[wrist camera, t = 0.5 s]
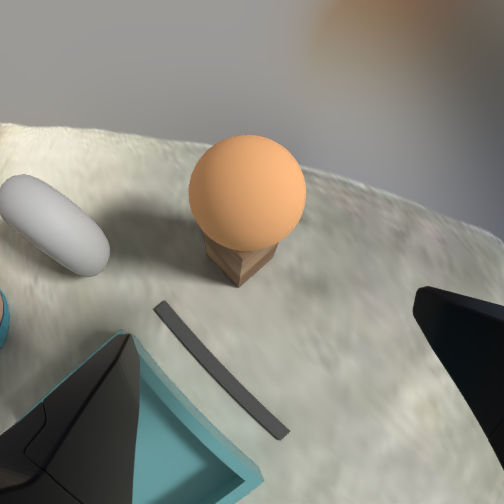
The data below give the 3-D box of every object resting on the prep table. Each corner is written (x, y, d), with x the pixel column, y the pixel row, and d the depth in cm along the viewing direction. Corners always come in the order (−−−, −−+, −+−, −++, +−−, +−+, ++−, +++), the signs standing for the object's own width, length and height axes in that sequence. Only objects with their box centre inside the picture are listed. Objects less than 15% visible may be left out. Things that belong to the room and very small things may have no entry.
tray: (258, 466, 17) (264, 480, 14) (146, 542, 13) (136, 560, 10) (134, 336, 20) (120, 329, 17) (36, 420, 16) (14, 423, 13)
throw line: (289, 430, 18) (290, 431, 18) (279, 440, 18) (280, 440, 18) (165, 301, 21) (165, 300, 21) (155, 309, 21) (154, 309, 21)
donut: (34, 249, 22) (-31, 189, 13) (53, 217, 23) (-2, 149, 14) (114, 300, 21) (47, 246, 12) (135, 261, 22) (86, 189, 13)
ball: (312, 225, 18) (344, 164, 13) (241, 289, 17) (249, 243, 11) (246, 165, 20) (253, 96, 14) (174, 217, 18) (156, 151, 12)
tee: (272, 257, 23) (286, 221, 18) (238, 287, 22) (242, 258, 17) (240, 226, 24) (245, 183, 19) (206, 254, 23) (201, 216, 18)
